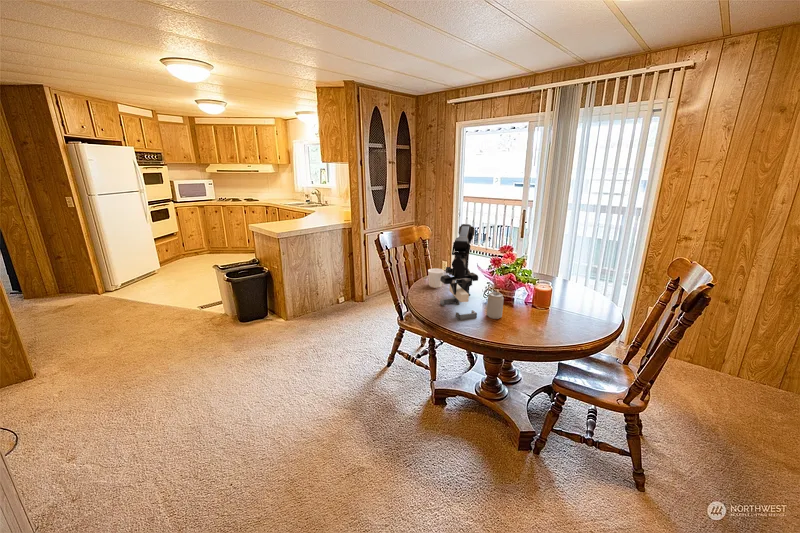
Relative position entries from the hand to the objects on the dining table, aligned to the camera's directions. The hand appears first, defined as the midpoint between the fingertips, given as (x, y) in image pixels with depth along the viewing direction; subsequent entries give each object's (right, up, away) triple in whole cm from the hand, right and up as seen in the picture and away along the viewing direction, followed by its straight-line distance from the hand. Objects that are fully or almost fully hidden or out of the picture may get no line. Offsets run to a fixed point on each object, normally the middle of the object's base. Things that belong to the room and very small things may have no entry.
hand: (458, 294), depth 170 cm
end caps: (0, -9, +2) cm, 9 cm away
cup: (-7, +2, +40) cm, 40 cm away
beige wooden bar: (0, -1, 0) cm, 1 cm away
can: (+17, -11, -4) cm, 21 cm away
